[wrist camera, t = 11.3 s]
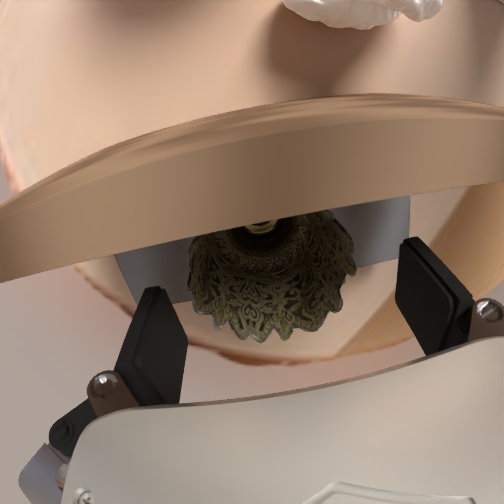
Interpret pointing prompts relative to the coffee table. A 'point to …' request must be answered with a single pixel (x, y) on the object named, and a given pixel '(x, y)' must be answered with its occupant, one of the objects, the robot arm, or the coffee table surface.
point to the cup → (271, 274)
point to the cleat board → (252, 182)
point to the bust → (362, 11)
